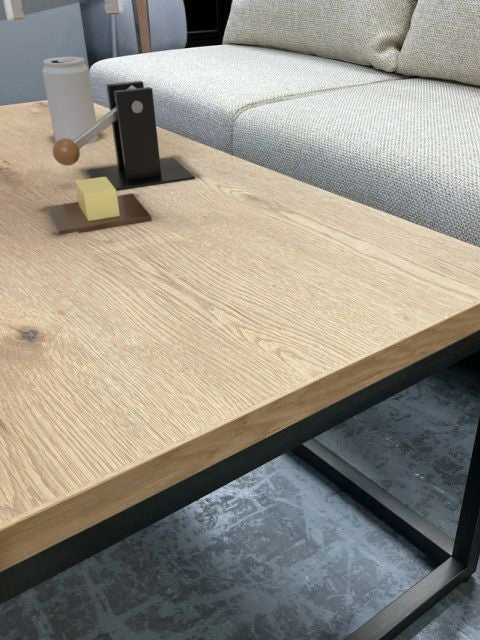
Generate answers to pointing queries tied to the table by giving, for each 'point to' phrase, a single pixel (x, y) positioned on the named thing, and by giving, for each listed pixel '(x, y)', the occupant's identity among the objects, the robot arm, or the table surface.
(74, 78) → the beverage can
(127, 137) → the black lever stand
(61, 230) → the board
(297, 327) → the table surface
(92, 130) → the arm
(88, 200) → the butter
